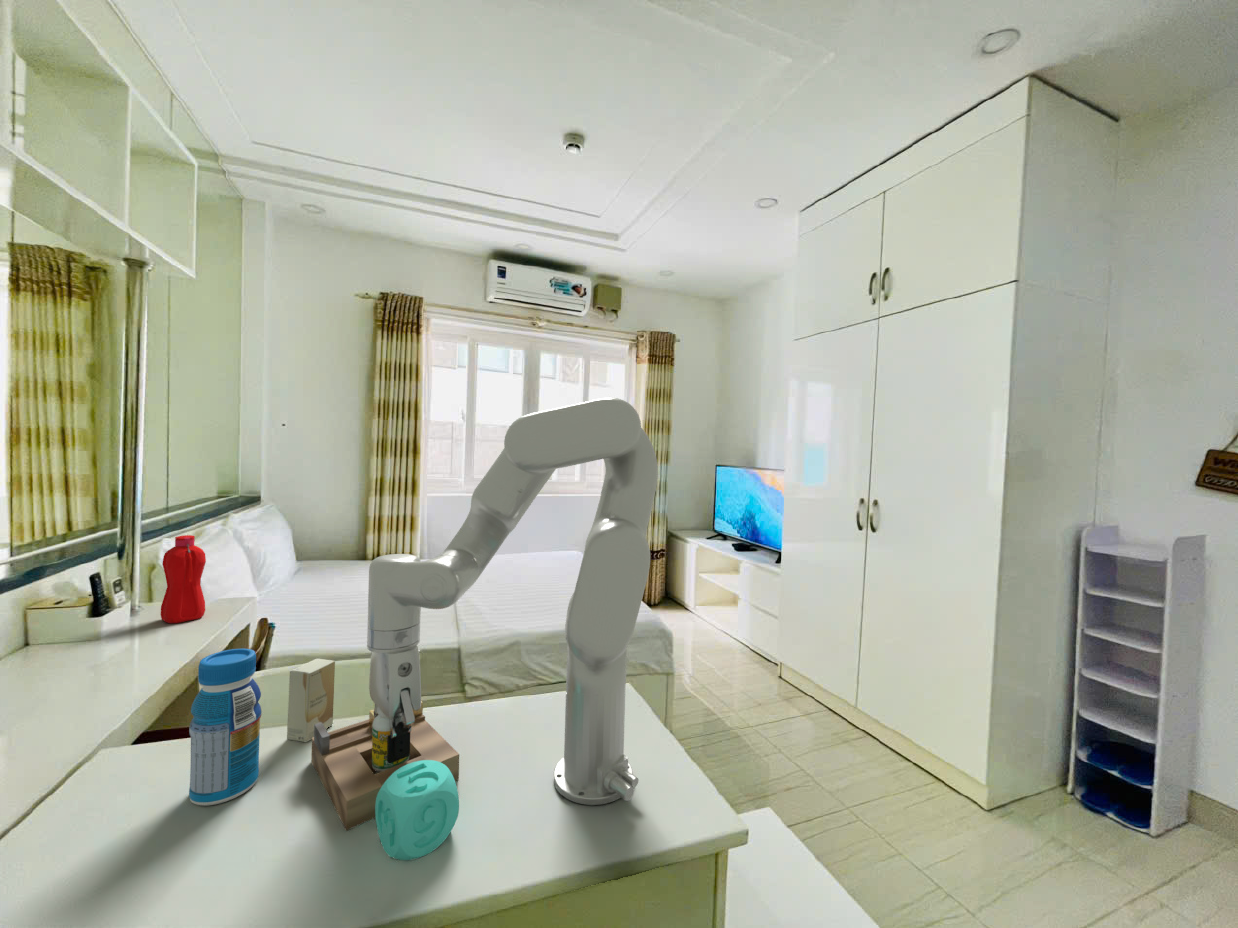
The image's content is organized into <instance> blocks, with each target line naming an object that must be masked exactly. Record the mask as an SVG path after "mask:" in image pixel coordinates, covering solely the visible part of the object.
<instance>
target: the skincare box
mask: <svg viewBox="0 0 1238 928" xmlns="http://www.w3.org/2000/svg"><path fill="white" fill-rule="evenodd" d="M335 670H336V660H331V659H324V658H314V659H312V660H310V661H308V662H306V663H303V664H300V665H299V666H298V667H295V668H293V669H290V670H289V680H288V681H289V683H288V701H287V702H288V703H287V706H288V707H287V708H288V709H287V727H286V728H287V729H286V739H287V740H291V741H295V742H296V741H298V742H303V743H304V742H305V743H308V742H309V741H310V740H311V741H312V737H314V724H317V723H320V722H322V724H323V725H324V727H325V729H326V730H328V729H329V728H331V727H332V726H333V725H332V724H334V723H333V722H334V704H335V703H334V701H335V698H334V697H335V673H336V672H335ZM331 725H332V726H331ZM330 726H331V727H330ZM328 727H329V728H328ZM327 728H328V729H327Z"/></svg>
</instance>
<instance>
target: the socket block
mask: <svg viewBox="0 0 1238 928" xmlns="http://www.w3.org/2000/svg"><path fill="white" fill-rule="evenodd" d="M310 759H311V761H310V762H311V764H312V765H313V768H314V770H315V772H316V774H317V776H318V778H319V779H320V781H321V784H322V786H323V788H324V789H325V791H326V793H327V795H328V798H329V799H330V801H331V803H332V806H333V807H334V809H335V811H336V813H337V815H338V817H339V819H340V822H341V823H342V825H343V826H344V829H345V831H348V830H351V829H353V828H355V827H357V826H360V825H362V824H364V823H366V822H368V821H371V820H372V819H376V816H375V804H376V797H377V794H378V792H379V790H380V789H381V787H382V785H383V784H384V783H385V781H386V780H387V779H388V778H389V777H390V776H391V775H392V774H393V773H394V772H395V771H396V770H398V769H399V768H401V767H402V766H405V765H407V764H409V763H412V762H416V761H421V760H434V761H438V762H441V763H443V764H444V765H446V766H447V767H448V768H449V770H450V771H451V773H452V775H453V777H454V780H455V782H456V781H459V778H460V776H459V775H460V753H459V752H458V751H457V750H456V749H455V748H454V747H453V746H452V745H451V744H450V743H449V742H448V741H447V740H446V739H445V738H444V737H443V736H442V735H441V734H440V733H439V732H438V731H437V730H436V729H435V728H434V727H433V726H432V725H431V724H430V723H429V722H428V721H427V720H426V716H425V714H423V715H421V716H418V717H415V722H414V724H413V725H412V727H411V732H410V754H409V760H408V761H407V762H404V763H402V764H399V765H397V766H394V767H392V768H389V769H387V770H384V771H382V772H377V771H375V770H374V769H373V768H372V728H371V727H370V726H369V718H367V719H365V720H363V721H359V722H356V723H353V724H350V725H347V726H343V727H341V728H338V729H335V730H332V731H329V732H328V729H325V727H324V725H323V724H322V722H320V723H317V724H314V737H312V739H311V758H310Z"/></svg>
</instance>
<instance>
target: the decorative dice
mask: <svg viewBox="0 0 1238 928" xmlns="http://www.w3.org/2000/svg"><path fill="white" fill-rule="evenodd" d="M459 811H460V797H459V791H458V787H457V783H456V781H455V780H454V777H453V775H452V773H451V771H450V770H449V768H448V767H447V766H446V765H444V764H443V763H441V762H438V761H434V760H421V761H416V762H412V763H409V764H407V765H405V766H402V767H401V768H399V769H398V770H396V771H395V772H394V773H393V774H392V775H391V776H390V777H389V778H388V779H387V780H386V781H385V783H384V784H383V785H382V787H381V789H380V790H379V792H378V794H377V797H376V804H375V816H376V817H375V822H376V824H375V825H376V830H377V833H378V837H379V841H380V843H381V846H382V848H383V850H384V851H385V853H386V855H387V856H388V857H391V858H393V859H396V860H399V861H411V860H416V859H420V858H421V857H422V858H423V857H424V856H427V855H430V853H432V852H434V851H435V850H436V849H437V848H438V847H439V846H441V845H442V844H443V842H445V841H446V839H447V838H448V837H449V835H450V834H451V832H452V830H453V828H454V826H455V825H456V821H457V819H458V817H459Z"/></svg>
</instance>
